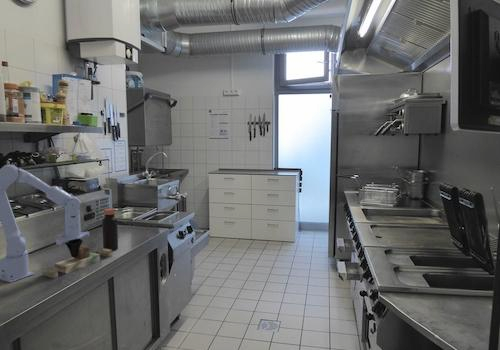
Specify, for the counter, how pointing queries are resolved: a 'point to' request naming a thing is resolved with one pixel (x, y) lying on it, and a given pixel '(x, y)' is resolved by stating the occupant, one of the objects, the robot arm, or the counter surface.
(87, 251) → the walnut block
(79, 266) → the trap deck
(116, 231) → the bottle
